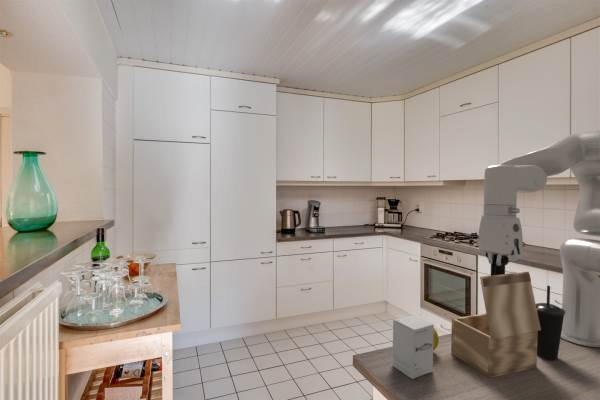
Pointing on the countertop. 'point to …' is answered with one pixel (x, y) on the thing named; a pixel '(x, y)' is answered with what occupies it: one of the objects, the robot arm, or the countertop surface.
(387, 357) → the countertop surface
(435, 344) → the lemon
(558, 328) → the drinking cup
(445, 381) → the countertop surface
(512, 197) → the robot arm
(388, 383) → the countertop surface
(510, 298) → the lid flap
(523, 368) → the light brown boxy piece
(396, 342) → the supplement box
